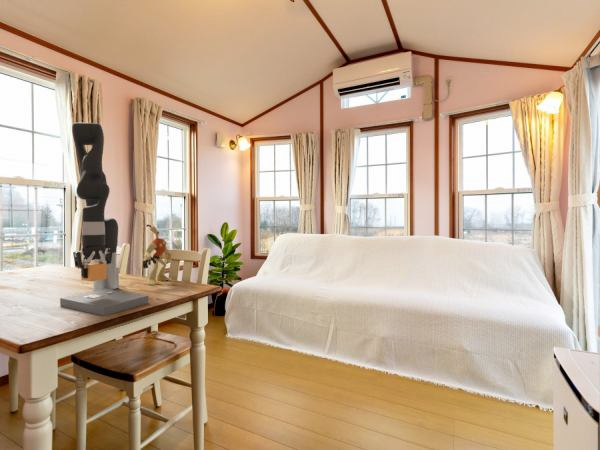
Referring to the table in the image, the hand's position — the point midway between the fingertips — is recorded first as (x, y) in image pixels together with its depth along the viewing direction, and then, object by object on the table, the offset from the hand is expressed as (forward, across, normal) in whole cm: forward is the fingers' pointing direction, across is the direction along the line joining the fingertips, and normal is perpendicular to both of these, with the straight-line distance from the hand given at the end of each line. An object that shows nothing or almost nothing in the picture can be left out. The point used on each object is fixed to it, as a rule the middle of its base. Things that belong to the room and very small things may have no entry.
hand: (94, 276), depth 124 cm
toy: (+11, -38, -11) cm, 41 cm away
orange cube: (+1, 0, 0) cm, 1 cm away
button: (+11, 0, 0) cm, 11 cm away
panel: (+11, -2, +3) cm, 12 cm away
